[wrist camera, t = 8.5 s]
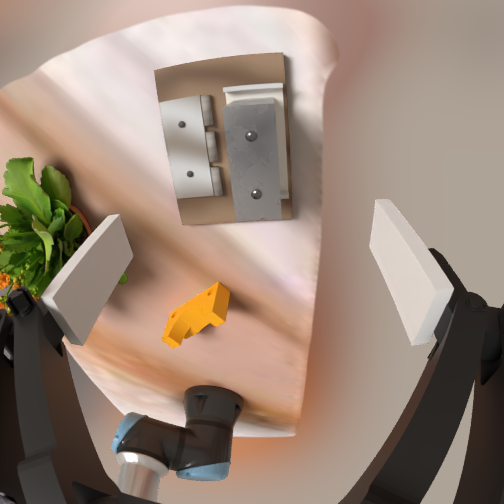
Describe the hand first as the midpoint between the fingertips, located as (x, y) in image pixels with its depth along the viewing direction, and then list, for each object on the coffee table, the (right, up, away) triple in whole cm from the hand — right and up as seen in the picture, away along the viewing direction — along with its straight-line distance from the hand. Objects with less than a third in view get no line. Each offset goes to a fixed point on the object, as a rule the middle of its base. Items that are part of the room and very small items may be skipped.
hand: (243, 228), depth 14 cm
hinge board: (-2, +12, +17) cm, 21 cm away
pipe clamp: (-8, -10, +33) cm, 35 cm away
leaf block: (+1, +11, +16) cm, 19 cm away
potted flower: (-29, +2, +26) cm, 39 cm away
